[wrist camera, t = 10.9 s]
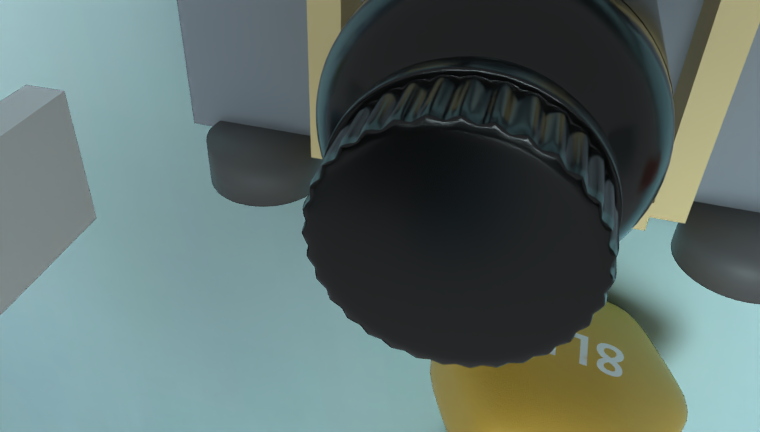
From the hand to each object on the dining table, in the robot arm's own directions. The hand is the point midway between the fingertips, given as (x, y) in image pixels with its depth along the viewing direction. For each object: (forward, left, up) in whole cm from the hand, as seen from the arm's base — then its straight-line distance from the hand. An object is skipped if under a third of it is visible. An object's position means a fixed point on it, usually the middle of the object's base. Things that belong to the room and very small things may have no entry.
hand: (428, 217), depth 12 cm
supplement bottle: (0, 0, -11) cm, 11 cm away
